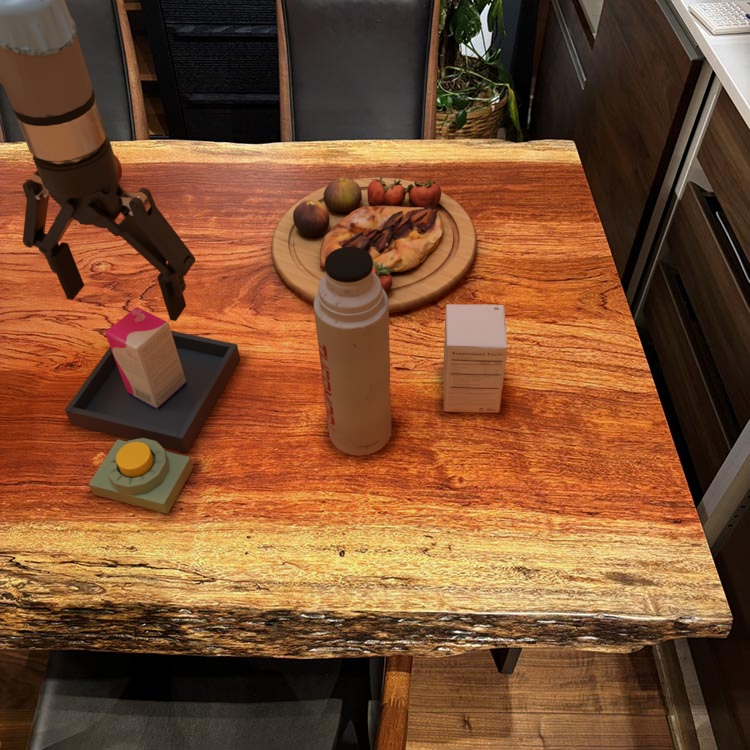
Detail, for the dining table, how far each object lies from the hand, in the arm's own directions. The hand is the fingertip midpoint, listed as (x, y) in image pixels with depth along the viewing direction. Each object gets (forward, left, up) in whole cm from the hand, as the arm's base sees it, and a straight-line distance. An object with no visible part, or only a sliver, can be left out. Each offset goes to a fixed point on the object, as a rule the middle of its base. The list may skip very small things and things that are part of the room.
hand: (126, 302), depth 95 cm
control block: (+5, -13, -16) cm, 22 cm away
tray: (0, 0, -16) cm, 16 cm away
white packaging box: (+40, +11, -17) cm, 45 cm away
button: (+5, -13, -13) cm, 19 cm away
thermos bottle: (+28, +1, -17) cm, 32 cm away
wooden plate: (+19, +36, -17) cm, 44 cm away
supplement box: (0, 0, -16) cm, 16 cm away
